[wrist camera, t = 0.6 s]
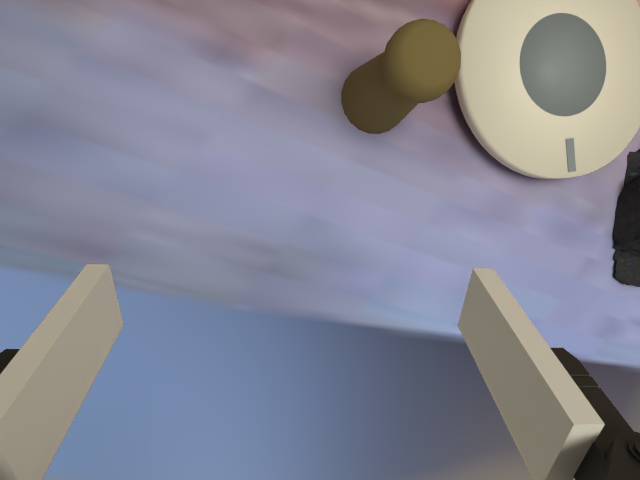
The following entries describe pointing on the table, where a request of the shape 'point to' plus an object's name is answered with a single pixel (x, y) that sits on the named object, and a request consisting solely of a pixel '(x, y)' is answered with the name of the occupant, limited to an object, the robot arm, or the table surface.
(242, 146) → the table surface
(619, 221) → the dark grey folded cloth
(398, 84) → the cork
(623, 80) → the turntable
